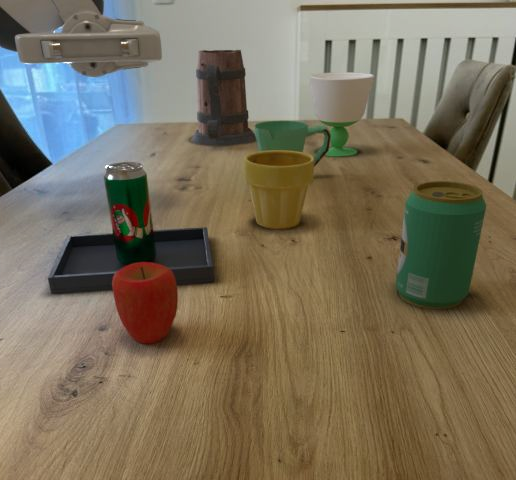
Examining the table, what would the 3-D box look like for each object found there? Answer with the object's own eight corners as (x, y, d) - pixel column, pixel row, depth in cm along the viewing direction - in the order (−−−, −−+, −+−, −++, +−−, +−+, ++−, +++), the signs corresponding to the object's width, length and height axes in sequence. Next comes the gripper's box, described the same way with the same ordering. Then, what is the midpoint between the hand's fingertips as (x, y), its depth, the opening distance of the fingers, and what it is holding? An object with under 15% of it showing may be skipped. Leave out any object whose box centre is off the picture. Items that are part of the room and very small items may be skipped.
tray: (51, 294, 65) (47, 277, 64) (70, 249, 77) (67, 235, 76) (214, 282, 67) (213, 266, 66) (207, 241, 79) (206, 226, 78)
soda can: (144, 250, 75) (132, 158, 68) (164, 260, 71) (153, 166, 65) (110, 259, 72) (94, 165, 66) (129, 271, 68) (114, 173, 62)
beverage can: (400, 276, 67) (413, 177, 61) (469, 285, 65) (490, 183, 58) (389, 304, 61) (401, 197, 55) (464, 316, 58) (487, 204, 52)
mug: (262, 189, 101) (261, 131, 96) (249, 176, 109) (248, 122, 104) (337, 182, 104) (340, 126, 99) (319, 170, 112) (321, 117, 107)
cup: (368, 160, 119) (374, 78, 110) (304, 158, 120) (306, 79, 112) (367, 146, 130) (373, 72, 122) (309, 145, 132) (311, 72, 124)
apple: (194, 334, 56) (188, 266, 52) (147, 359, 52) (136, 287, 48) (155, 315, 60) (147, 250, 56) (108, 337, 56) (95, 269, 52)
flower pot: (324, 218, 86) (327, 154, 81) (289, 238, 79) (290, 169, 74) (269, 207, 91) (268, 146, 86) (232, 225, 84) (229, 160, 79)
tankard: (198, 132, 149) (192, 48, 138) (260, 132, 147) (258, 47, 137) (178, 151, 129) (169, 55, 118) (249, 152, 127) (246, 54, 117)
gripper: (14, 22, 82) (4, 23, 71) (152, 20, 87) (163, 21, 75) (24, 69, 85) (15, 78, 74) (157, 65, 90) (168, 73, 78)
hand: (91, 49), depth 74 cm, fingers open, 8 cm apart
